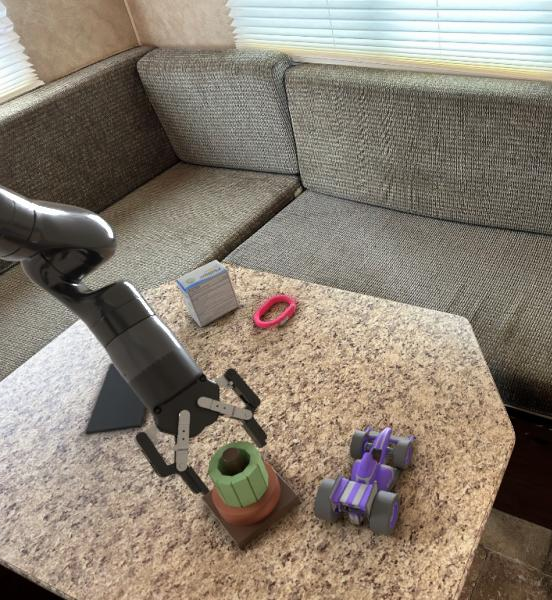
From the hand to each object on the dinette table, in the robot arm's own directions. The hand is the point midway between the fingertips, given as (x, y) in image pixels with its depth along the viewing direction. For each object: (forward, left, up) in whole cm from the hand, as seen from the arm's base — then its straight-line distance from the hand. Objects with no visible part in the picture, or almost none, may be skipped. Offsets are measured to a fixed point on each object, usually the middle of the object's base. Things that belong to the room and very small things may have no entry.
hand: (235, 469), depth 74 cm
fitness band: (+23, +29, -7) cm, 37 cm away
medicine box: (+16, +38, -7) cm, 41 cm away
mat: (-4, +31, -7) cm, 32 cm away
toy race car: (+13, -9, -7) cm, 18 cm away
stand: (0, 0, -7) cm, 7 cm away
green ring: (0, 0, -3) cm, 3 cm away
